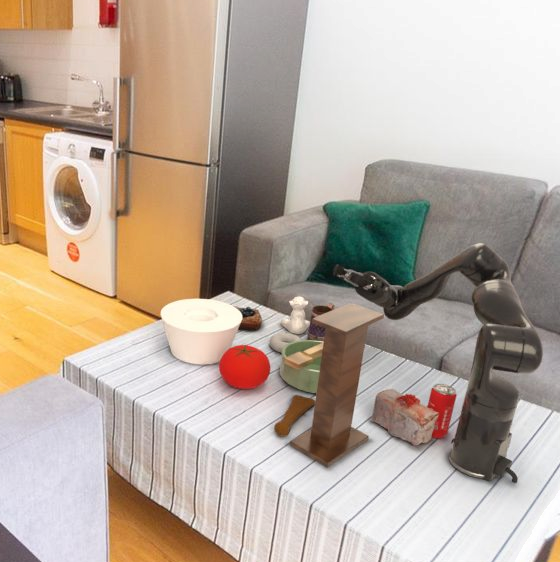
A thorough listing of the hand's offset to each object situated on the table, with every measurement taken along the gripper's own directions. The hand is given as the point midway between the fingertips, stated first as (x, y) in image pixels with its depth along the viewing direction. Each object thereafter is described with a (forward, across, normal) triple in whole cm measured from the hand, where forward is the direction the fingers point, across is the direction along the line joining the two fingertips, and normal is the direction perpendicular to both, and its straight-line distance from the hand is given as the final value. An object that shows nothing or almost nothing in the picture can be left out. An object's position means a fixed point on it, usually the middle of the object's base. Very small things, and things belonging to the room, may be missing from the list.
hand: (349, 272), depth 158 cm
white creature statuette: (-24, -22, +20) cm, 38 cm away
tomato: (+10, -10, +39) cm, 42 cm away
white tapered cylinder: (+6, -31, +37) cm, 49 cm away
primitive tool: (+12, +8, +40) cm, 43 cm away
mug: (-23, -12, +20) cm, 33 cm away
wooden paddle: (-2, 0, +24) cm, 24 cm away
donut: (-13, -16, +26) cm, 33 cm away
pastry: (-15, -36, +25) cm, 46 cm away
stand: (+14, +20, +41) cm, 48 cm away
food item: (-1, +28, +33) cm, 43 cm away
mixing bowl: (-5, 0, +30) cm, 31 cm away
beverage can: (-6, +33, +30) cm, 45 cm away
